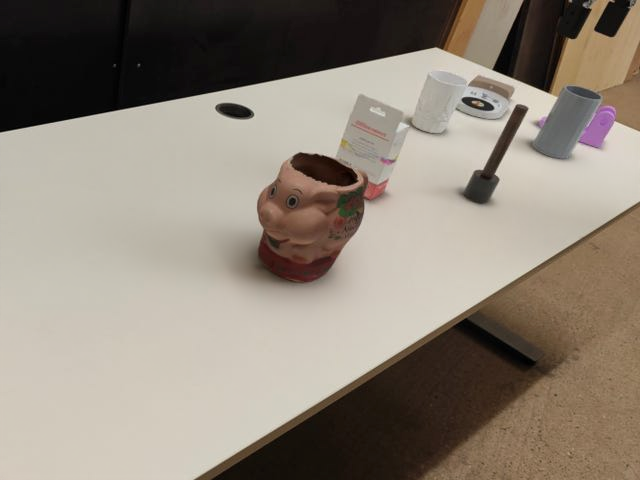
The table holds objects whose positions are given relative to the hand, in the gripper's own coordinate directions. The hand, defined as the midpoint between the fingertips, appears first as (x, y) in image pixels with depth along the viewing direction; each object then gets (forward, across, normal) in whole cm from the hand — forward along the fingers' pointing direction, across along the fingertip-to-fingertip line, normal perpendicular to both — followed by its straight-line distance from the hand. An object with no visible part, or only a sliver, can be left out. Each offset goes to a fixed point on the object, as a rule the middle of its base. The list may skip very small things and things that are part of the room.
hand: (584, 35), depth 96 cm
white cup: (+28, +14, +28) cm, 42 cm away
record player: (+28, +40, +35) cm, 60 cm away
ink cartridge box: (+28, -21, +12) cm, 37 cm away
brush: (+28, -1, +3) cm, 28 cm away
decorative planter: (+28, -45, -2) cm, 53 cm away
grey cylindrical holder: (+28, +35, +12) cm, 46 cm away
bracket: (+28, +48, +17) cm, 58 cm away
